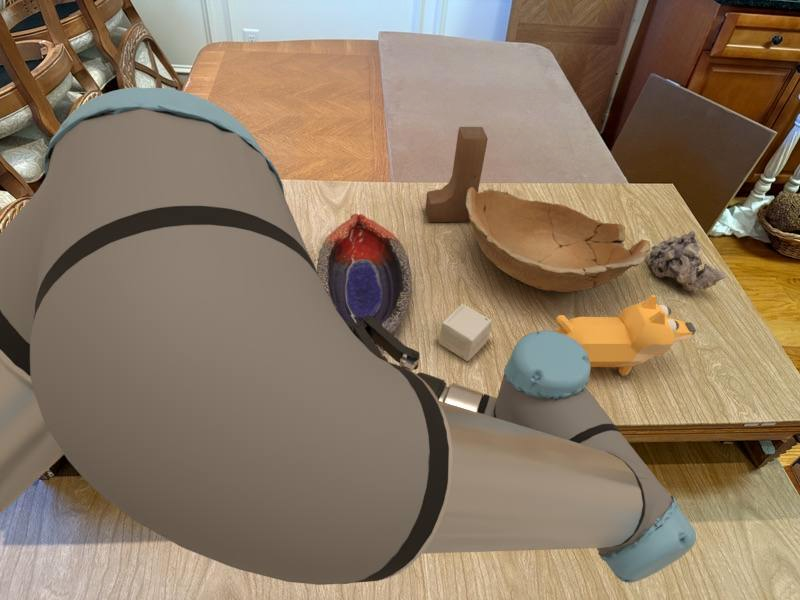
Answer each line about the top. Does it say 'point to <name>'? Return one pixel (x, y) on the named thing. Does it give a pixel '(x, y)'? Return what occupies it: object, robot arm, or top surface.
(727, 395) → the top surface
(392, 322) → the dish
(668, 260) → the mineral specimen
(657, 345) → the dog
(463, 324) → the small box
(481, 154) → the wooden block
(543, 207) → the ceramic bowl
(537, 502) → the robot arm
